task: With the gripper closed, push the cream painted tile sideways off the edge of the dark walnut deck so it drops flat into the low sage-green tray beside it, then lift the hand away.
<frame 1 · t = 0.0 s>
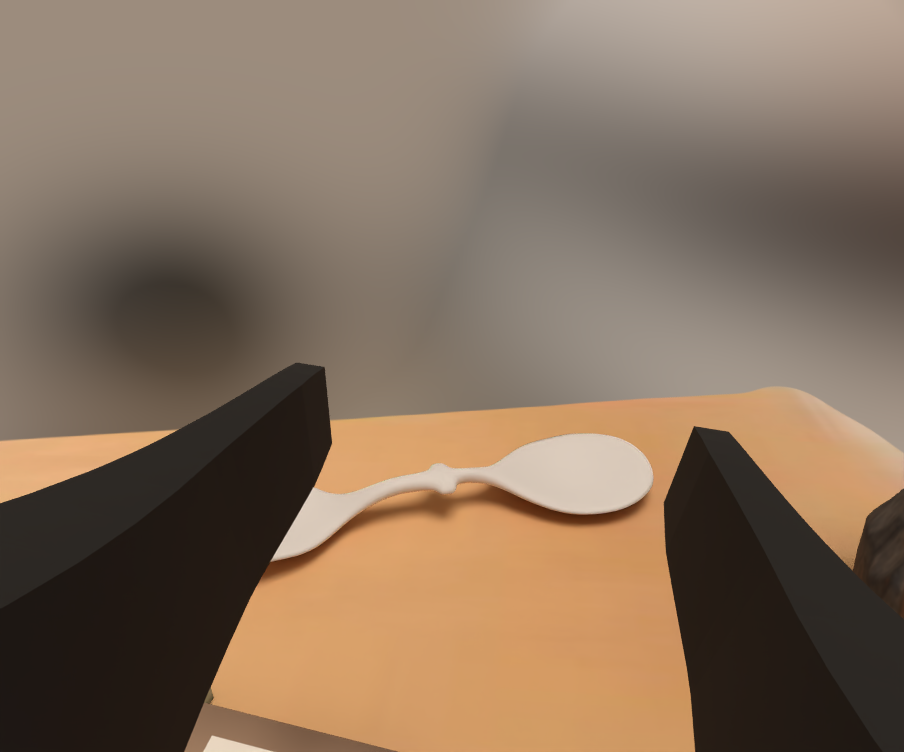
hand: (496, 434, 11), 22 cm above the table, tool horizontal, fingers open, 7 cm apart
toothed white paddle: (447, 510, 40), on the table
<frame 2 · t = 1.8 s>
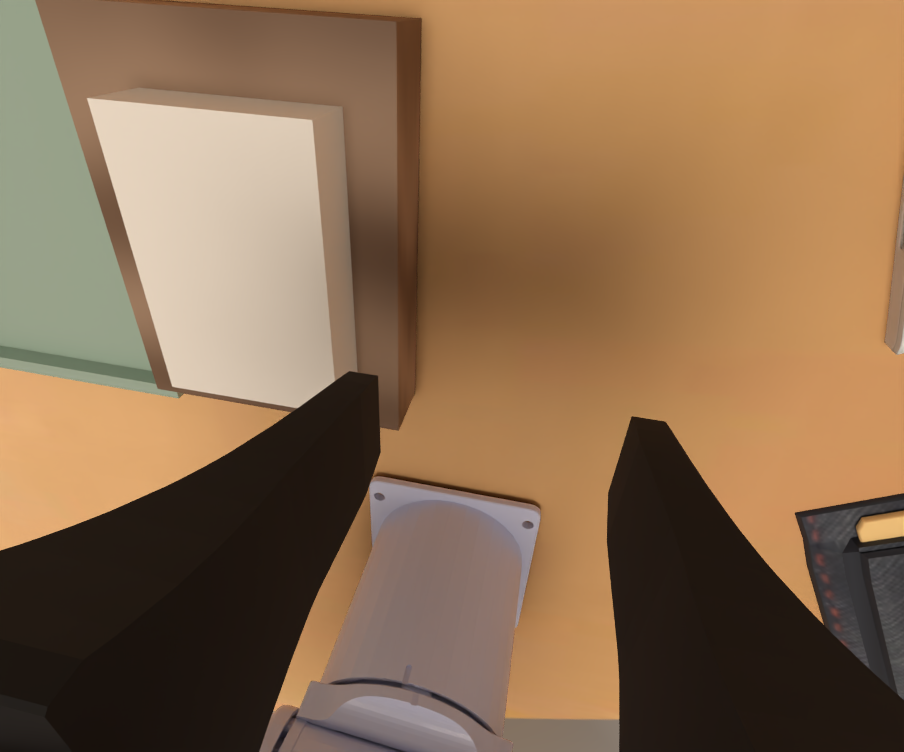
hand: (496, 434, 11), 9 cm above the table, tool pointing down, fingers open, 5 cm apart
tile: (262, 252, 18), point 2 cm above the table, touching deck
deck: (282, 224, 20), on the table
tray: (16, 191, 21), on the table
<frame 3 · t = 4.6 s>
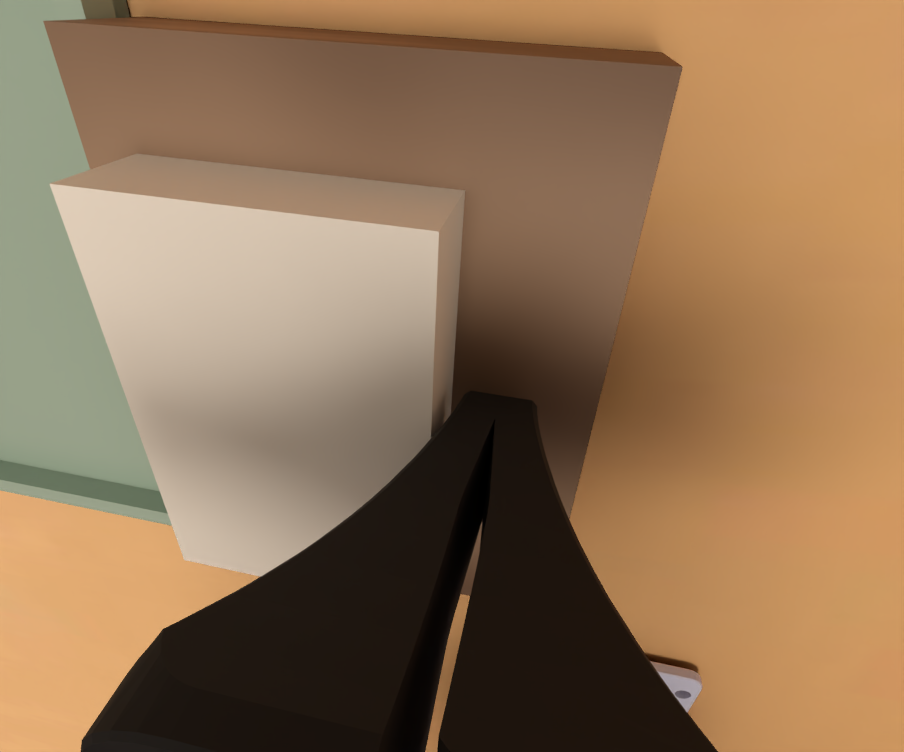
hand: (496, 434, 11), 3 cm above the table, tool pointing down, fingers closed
tile: (317, 383, 12), point 2 cm above the table, touching deck
deck: (391, 334, 14), on the table
tray: (16, 279, 15), on the table
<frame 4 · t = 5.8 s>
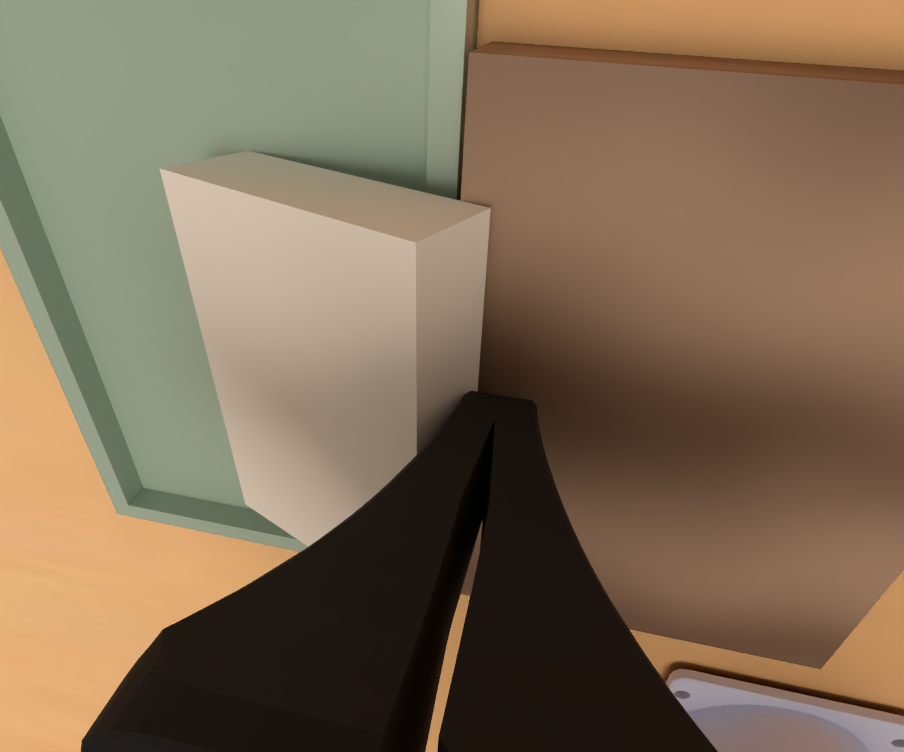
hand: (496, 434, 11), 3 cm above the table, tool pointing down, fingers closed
tile: (366, 374, 13), point 2 cm above the table, tilted 23°, touching gripper
deck: (676, 376, 13), on the table
tray: (248, 313, 15), on the table
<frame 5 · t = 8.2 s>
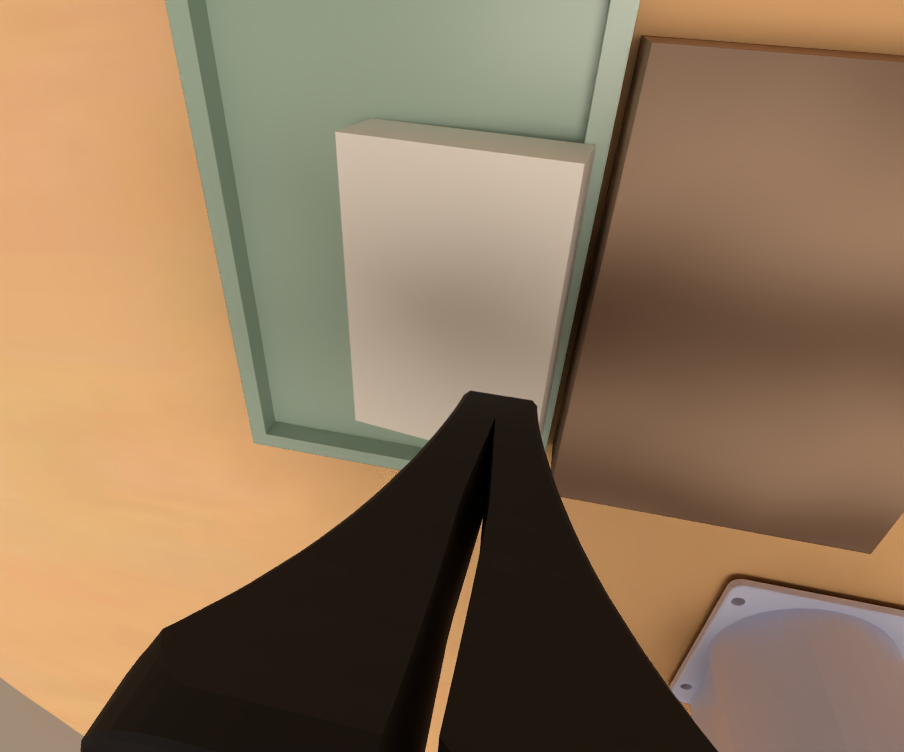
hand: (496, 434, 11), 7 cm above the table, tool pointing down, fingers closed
tile: (467, 290, 17), point 1 cm above the table, tilted 8°, touching tray
deck: (760, 309, 16), on the table
tray: (399, 260, 17), on the table
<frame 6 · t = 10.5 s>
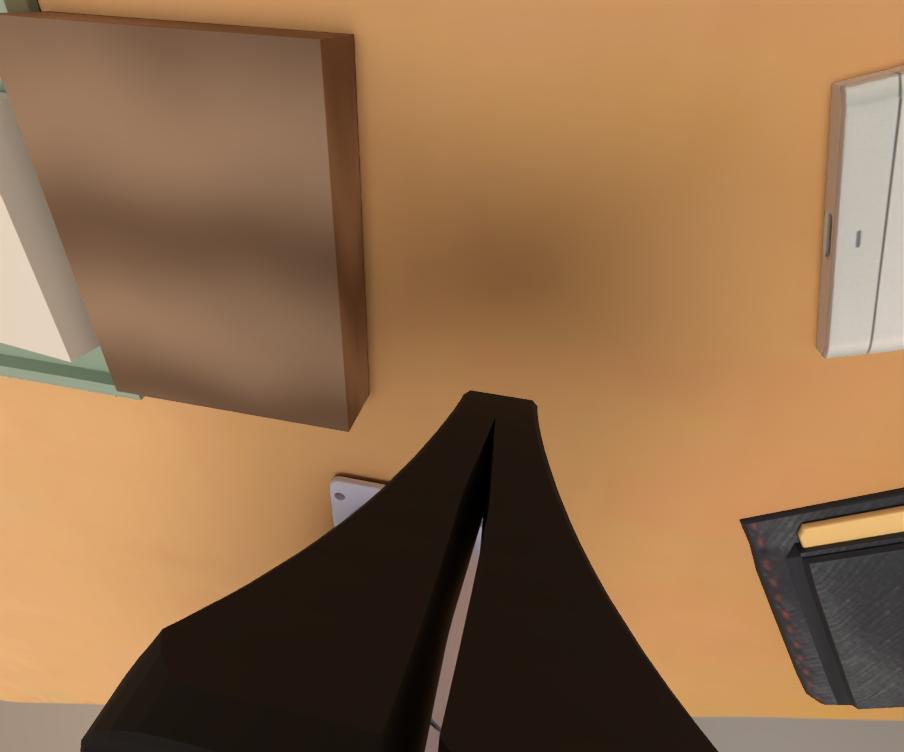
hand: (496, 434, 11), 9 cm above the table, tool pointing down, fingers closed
tile: (14, 219, 21), point 1 cm above the table, tilted 8°, touching tray
deck: (232, 231, 20), on the table
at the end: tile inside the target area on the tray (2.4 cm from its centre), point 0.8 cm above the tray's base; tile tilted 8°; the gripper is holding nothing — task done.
